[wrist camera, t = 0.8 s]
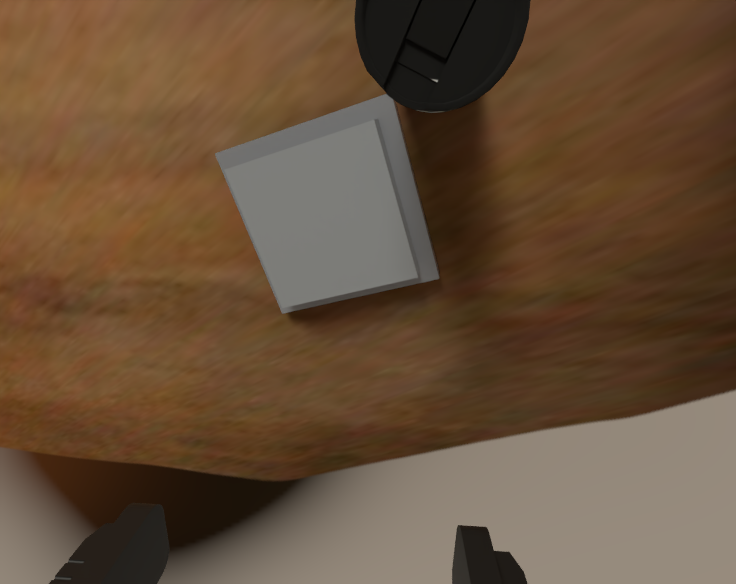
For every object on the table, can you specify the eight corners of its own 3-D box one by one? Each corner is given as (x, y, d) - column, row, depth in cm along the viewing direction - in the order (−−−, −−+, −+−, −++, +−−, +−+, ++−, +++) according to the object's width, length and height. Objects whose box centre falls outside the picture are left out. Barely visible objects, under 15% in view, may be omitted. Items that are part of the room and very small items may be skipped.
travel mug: (498, 35, 31) (582, -59, 13) (453, 122, 34) (471, 144, 16) (423, -5, 31) (403, -158, 13) (384, 86, 33) (322, 67, 15)
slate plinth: (223, 151, 38) (200, 156, 34) (393, 92, 34) (387, 91, 30) (287, 306, 43) (273, 325, 40) (439, 272, 39) (439, 289, 36)
